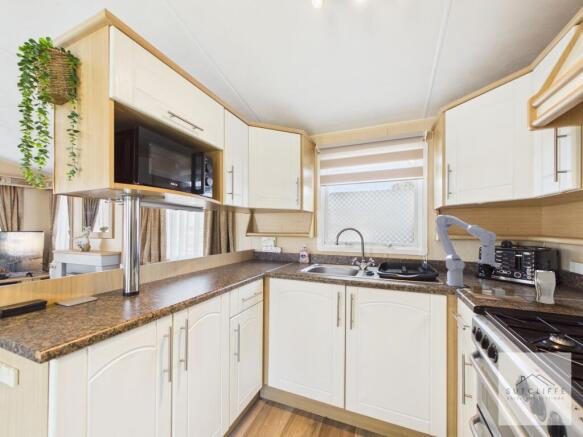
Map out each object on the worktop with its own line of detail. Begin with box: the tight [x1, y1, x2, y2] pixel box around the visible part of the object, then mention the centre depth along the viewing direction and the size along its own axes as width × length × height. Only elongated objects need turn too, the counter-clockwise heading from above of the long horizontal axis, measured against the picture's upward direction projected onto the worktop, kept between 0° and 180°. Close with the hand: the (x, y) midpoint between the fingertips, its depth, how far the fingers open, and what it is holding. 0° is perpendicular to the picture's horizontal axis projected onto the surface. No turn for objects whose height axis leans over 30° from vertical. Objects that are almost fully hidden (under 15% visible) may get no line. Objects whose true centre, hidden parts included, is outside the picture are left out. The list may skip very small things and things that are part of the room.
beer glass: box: [533, 269, 556, 305], centre depth 115 cm, size 7×7×15 cm
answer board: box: [462, 287, 530, 303], centre depth 127 cm, size 20×22×1 cm
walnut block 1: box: [469, 283, 483, 294], centre depth 130 cm, size 4×4×4 cm
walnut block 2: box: [500, 285, 516, 296], centre depth 126 cm, size 4×4×4 cm
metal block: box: [491, 287, 505, 299], centre depth 121 cm, size 4×4×4 cm
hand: (487, 278), depth 132 cm, fingers closed
